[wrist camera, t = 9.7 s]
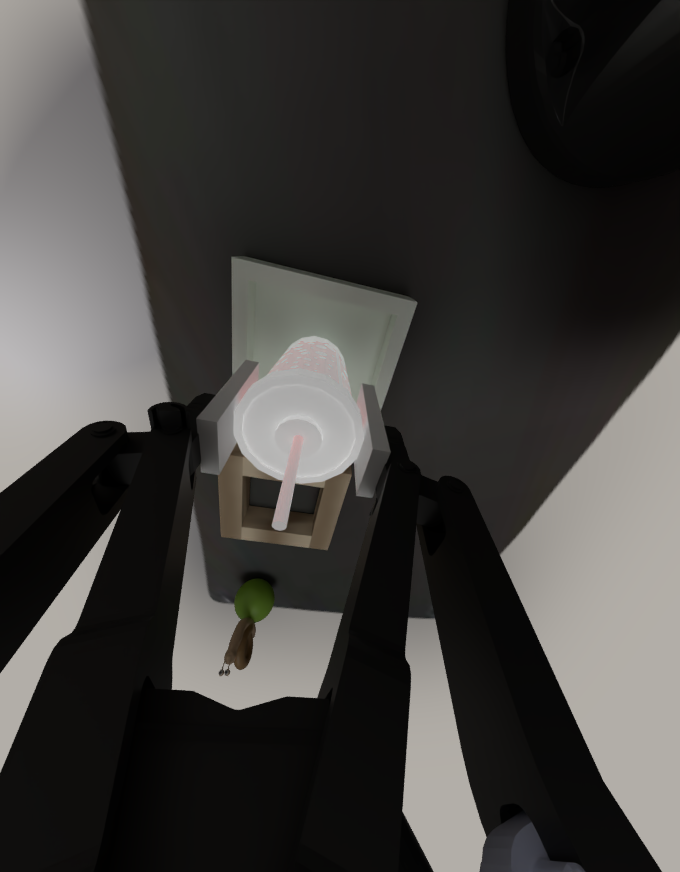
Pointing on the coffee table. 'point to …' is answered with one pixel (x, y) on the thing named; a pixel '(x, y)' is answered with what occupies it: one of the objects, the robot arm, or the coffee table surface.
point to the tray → (317, 320)
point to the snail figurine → (248, 621)
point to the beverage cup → (300, 420)
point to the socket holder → (258, 520)
